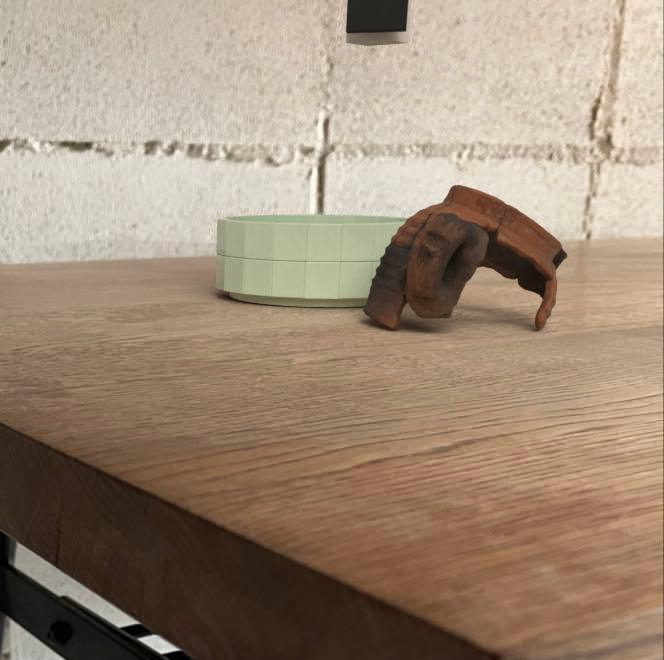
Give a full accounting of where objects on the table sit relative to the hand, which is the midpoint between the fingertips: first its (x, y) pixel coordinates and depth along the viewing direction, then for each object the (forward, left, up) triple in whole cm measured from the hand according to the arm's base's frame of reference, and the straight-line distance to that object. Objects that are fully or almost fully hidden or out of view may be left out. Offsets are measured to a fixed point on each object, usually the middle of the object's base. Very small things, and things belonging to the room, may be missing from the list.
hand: (377, 34), depth 54 cm
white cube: (0, 0, -1) cm, 1 cm away
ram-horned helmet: (-6, 0, -14) cm, 16 cm away
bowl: (-9, -15, -14) cm, 23 cm away
